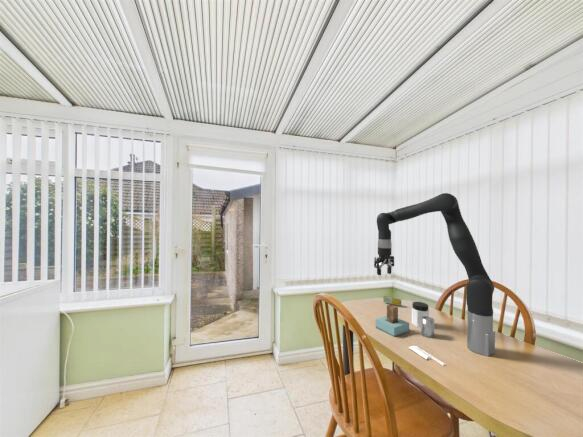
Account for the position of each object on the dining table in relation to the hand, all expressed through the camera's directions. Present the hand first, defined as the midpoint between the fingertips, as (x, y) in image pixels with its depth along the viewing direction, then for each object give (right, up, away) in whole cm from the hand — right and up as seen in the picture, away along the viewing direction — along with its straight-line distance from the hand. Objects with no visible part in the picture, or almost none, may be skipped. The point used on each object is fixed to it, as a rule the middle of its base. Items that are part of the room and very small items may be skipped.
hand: (384, 274), depth 139 cm
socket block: (0, -28, -10) cm, 30 cm away
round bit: (+16, -28, -16) cm, 36 cm away
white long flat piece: (+3, -29, -36) cm, 46 cm away
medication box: (+18, -29, +31) cm, 46 cm away
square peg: (+1, -27, -10) cm, 29 cm away
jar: (+20, -29, -3) cm, 35 cm away
